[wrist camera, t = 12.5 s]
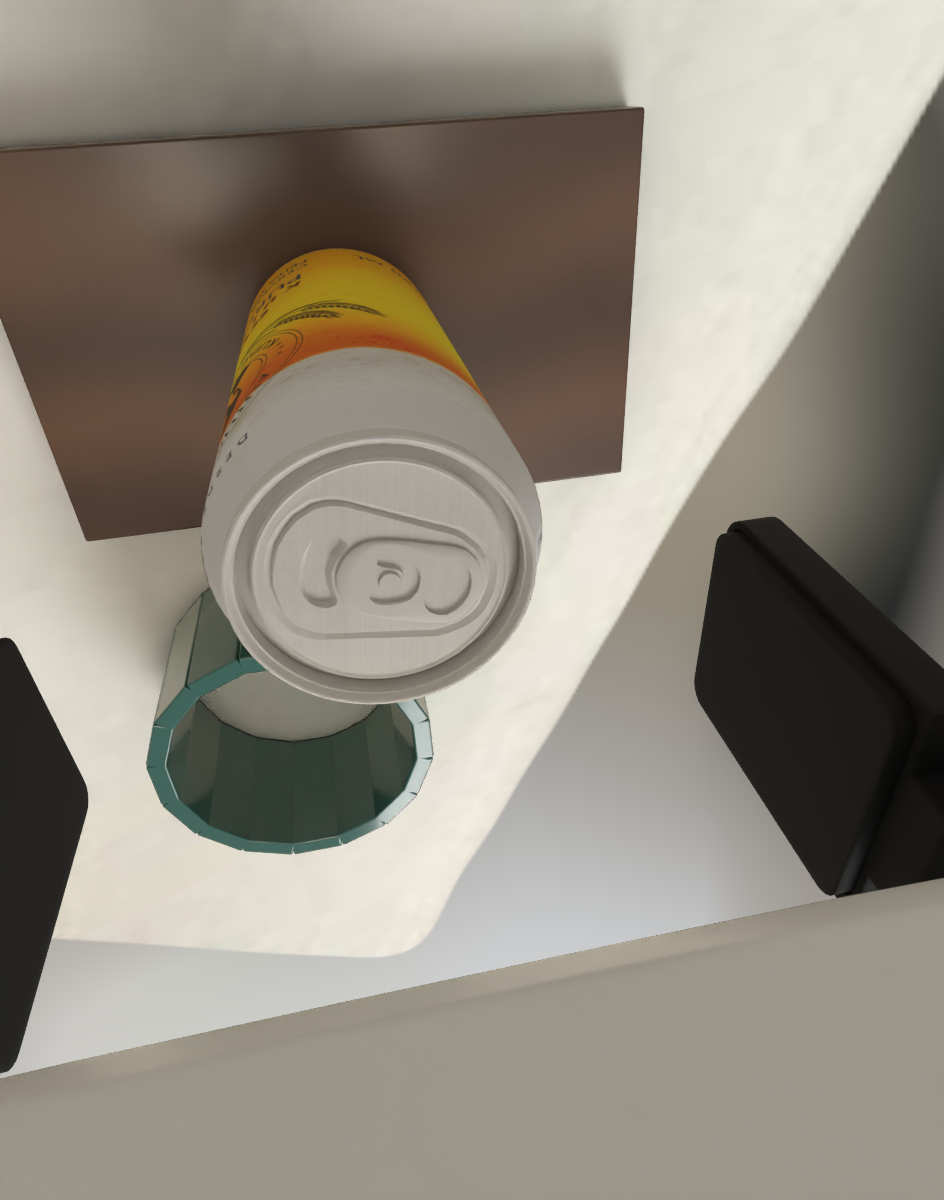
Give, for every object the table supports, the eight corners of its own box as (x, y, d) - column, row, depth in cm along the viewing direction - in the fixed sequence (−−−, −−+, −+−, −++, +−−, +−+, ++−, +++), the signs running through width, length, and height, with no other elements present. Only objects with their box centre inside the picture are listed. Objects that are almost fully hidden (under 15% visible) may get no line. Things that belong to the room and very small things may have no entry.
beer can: (254, 223, 23) (202, 376, 10) (451, 267, 24) (605, 442, 12) (240, 417, 26) (186, 713, 13) (415, 444, 27) (510, 728, 15)
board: (-44, 150, 22) (-64, 154, 20) (628, 106, 24) (645, 107, 23) (95, 523, 28) (85, 542, 27) (608, 457, 31) (621, 472, 30)
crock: (139, 583, 30) (108, 678, 25) (400, 547, 31) (419, 631, 26) (204, 767, 36) (189, 874, 31) (422, 730, 37) (441, 827, 32)
